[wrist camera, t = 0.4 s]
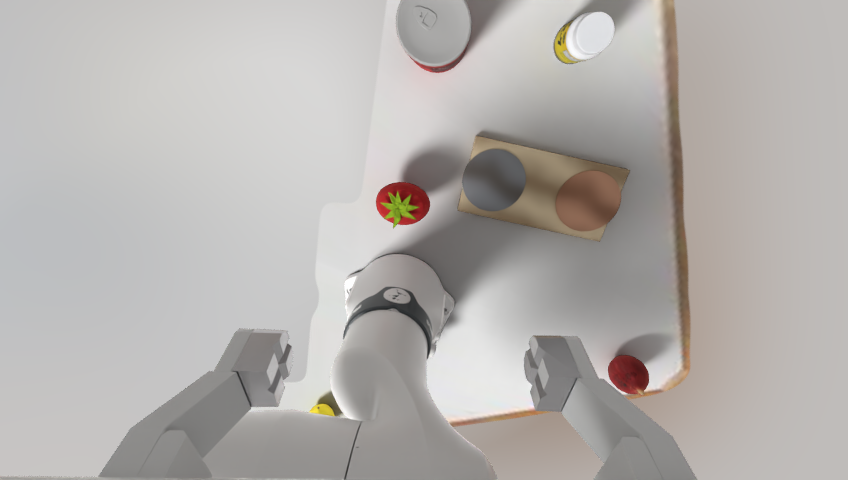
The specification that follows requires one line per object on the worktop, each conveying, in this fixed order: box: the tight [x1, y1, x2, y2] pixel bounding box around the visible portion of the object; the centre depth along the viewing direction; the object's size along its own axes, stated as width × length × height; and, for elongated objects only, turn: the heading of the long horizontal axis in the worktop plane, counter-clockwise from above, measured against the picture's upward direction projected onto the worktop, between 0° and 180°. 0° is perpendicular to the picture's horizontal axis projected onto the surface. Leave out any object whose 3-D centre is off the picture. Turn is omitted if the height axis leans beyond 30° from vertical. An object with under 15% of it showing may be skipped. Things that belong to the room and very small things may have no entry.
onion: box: [608, 355, 649, 396], centre depth 59 cm, size 6×6×8 cm
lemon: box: [310, 404, 335, 416], centre depth 69 cm, size 7×5×5 cm
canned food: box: [396, 0, 472, 73], centre depth 42 cm, size 8×8×11 cm
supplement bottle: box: [553, 11, 615, 64], centre depth 42 cm, size 5×5×8 cm
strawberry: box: [376, 182, 430, 228], centre depth 50 cm, size 6×8×10 cm
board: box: [458, 136, 630, 242], centre depth 52 cm, size 11×23×2 cm, turn 78°
